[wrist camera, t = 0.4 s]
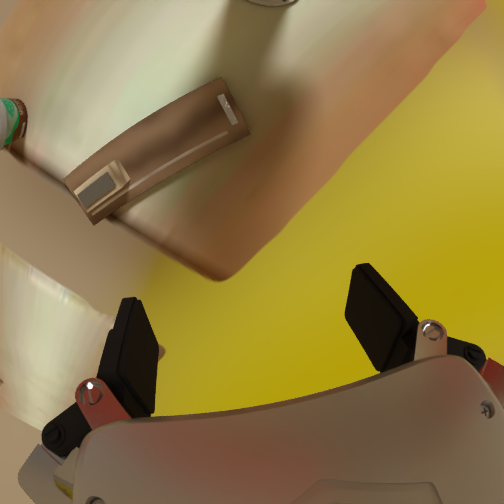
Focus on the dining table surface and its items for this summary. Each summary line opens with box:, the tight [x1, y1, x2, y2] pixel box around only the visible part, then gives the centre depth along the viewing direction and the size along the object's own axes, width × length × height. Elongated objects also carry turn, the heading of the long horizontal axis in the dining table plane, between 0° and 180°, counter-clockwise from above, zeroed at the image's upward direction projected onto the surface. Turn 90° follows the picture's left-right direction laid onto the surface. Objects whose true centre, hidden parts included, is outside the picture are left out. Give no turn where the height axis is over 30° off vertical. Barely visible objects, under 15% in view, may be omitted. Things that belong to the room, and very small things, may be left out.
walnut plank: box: [63, 77, 251, 225], centre depth 37 cm, size 10×30×3 cm, turn 115°
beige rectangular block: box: [73, 158, 130, 213], centre depth 35 cm, size 4×7×6 cm, turn 115°
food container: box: [0, 98, 28, 150], centre depth 24 cm, size 12×6×10 cm, turn 43°
